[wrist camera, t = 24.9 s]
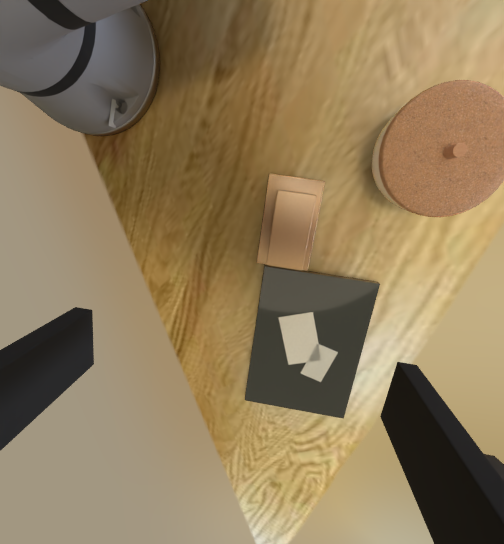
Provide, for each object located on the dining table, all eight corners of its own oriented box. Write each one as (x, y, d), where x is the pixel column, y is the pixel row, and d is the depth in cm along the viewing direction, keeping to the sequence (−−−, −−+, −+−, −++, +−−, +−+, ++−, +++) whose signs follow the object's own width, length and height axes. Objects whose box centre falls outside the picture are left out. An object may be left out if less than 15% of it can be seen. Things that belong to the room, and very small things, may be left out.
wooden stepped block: (270, 174, 34) (265, 170, 26) (322, 181, 33) (334, 179, 25) (258, 257, 37) (250, 277, 29) (306, 265, 36) (312, 287, 28)
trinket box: (465, 200, 32) (534, 204, 23) (365, 219, 34) (394, 230, 25) (462, 93, 30) (539, 52, 21) (354, 120, 31) (382, 92, 22)
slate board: (264, 264, 37) (264, 266, 36) (378, 281, 36) (380, 284, 35) (245, 396, 42) (244, 400, 42) (342, 414, 42) (343, 418, 41)
